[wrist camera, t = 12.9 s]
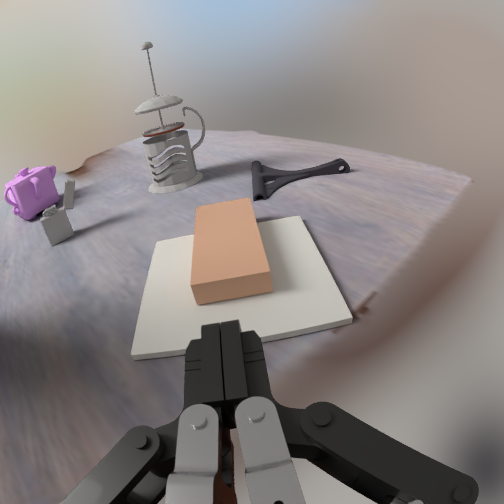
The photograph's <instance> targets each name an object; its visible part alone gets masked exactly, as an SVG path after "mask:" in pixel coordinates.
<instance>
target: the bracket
mask: <svg viewBox="0 0 504 504" xmlns="http://www.w3.org/2000/svg"><path fill="white" fill-rule="evenodd" d="M341 166H344V168H343V170H339V168H340V167H341ZM340 171H343V172H340ZM349 171H350V167H349V165H348V164H347V162H346V161H345V160H343V159H341V158H339V159H336V160H334V161H331V162H329V163H326V164H322V165H319V166H316V167H312V168H308V169H303V170H298V171H284V170H278V169H273V168H269V167H267V166H264V165H261V163H260V162H259V161H254V162H253V163H252V181H253V199H254V201H256V198H257V196H259V195H261V196H263V197H264V200H266V198H269V197H270V196H271V195H272V193H273V192H275V191H276V190H277V189H279V188H280V187H282V186H284V185H286V184H287V183H289V182H292V181H295V180H298V179H301V178H305V177H310V176H320V175H330V174H341V173H349ZM274 180H275V181H274ZM267 181H274V182H272V183H270V184H266V185H264V182H267Z"/></svg>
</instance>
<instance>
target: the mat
mask: <svg viewBox="0 0 504 504" xmlns="http://www.w3.org/2000/svg"><path fill="white" fill-rule="evenodd" d="M257 226H258V229H259V233H260V236H261V240H262V244H263V247H264V251H265V254H266V258H267V261H268V265H269V269H270V274H271V281H272V289H273V292H268V293H262V294H257V295H251V296H246V297H240V298H234V299H229V300H223V301H217V302H211V303H205V304H199V305H197V304H196V301H195V298H194V295H193V292H192V289H191V286H190V282H191V267H192V254H193V241H194V234H193V235H188V236H183V237H178V238H173V239H168V240H163V241H157V242H156V246H155V250H154V254H153V257H152V261H151V265H150V269H149V273H148V277H147V281H146V285H145V289H144V294H143V298H142V302H141V307H140V311H139V316H138V321H137V325H136V330H135V335H134V340H133V345H132V350H131V357H132V358H133V360H141V359H151V358H160V357H169V356H177V355H185V351H186V349H187V347H188V345H189V343H190V341H191V340H193V339H200V338H201V326H202V325H206V324H212V323H219V322H220V324H221V322H225V321H231V320H237V319H239V322H240V326H241V330H242V332H245V331H251V330H254V331H255V332H256V333H257V334H258V336H259V337H260V338H261V341H262V342H268V341H273V340H278V339H283V338H288V337H293V336H298V335H303V334H307V333H312V332H317V331H321V330H325V329H330V328H334V327H338V326H342V325H347V324H351V323H352V320H353V317H352V315H351V313H350V311H349V309H348V307H347V305H346V303H345V301H344V299H343V297H342V295H341V293H340V291H339V289H338V287H337V285H336V283H335V281H334V279H333V277H332V275H331V273H330V272H329V270H328V268H327V266H326V264H325V262H324V260H323V258H322V256H321V255H320V253H319V251H318V249H317V247H316V245H315V243H314V242H313V240H312V238H311V236H310V234H309V232H308V231H307V229H306V227H305V225H304V223H303V221H302V220H301V218H300V216H294V217H288V218H282V219H276V220H270V221H265V222H259V223H257Z"/></svg>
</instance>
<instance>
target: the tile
mask: <svg viewBox="0 0 504 504" xmlns="http://www.w3.org/2000/svg"><path fill="white" fill-rule="evenodd" d="M190 286H191V289H192V292H193V295H194V298H195V301H196V304H197V305H199V304H205V303H211V302H217V301H223V300H229V299H234V298H240V297H246V296H251V295H257V294H262V293H268V292H273V289H272V281H271V274H270V269H269V265H268V261H267V258H266V254H265V251H264V247H263V244H262V240H261V236H260V233H259V229H258V226H257V222H256V219H255V215H254V212H253V208H252V205H251V201H250V198H249V197H248V198H243V199H237V200H231V201H226V202H221V203H215V204H210V205H205V206H200V207H197V208H196V219H195V230H194V241H193V254H192V267H191V282H190Z"/></svg>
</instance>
